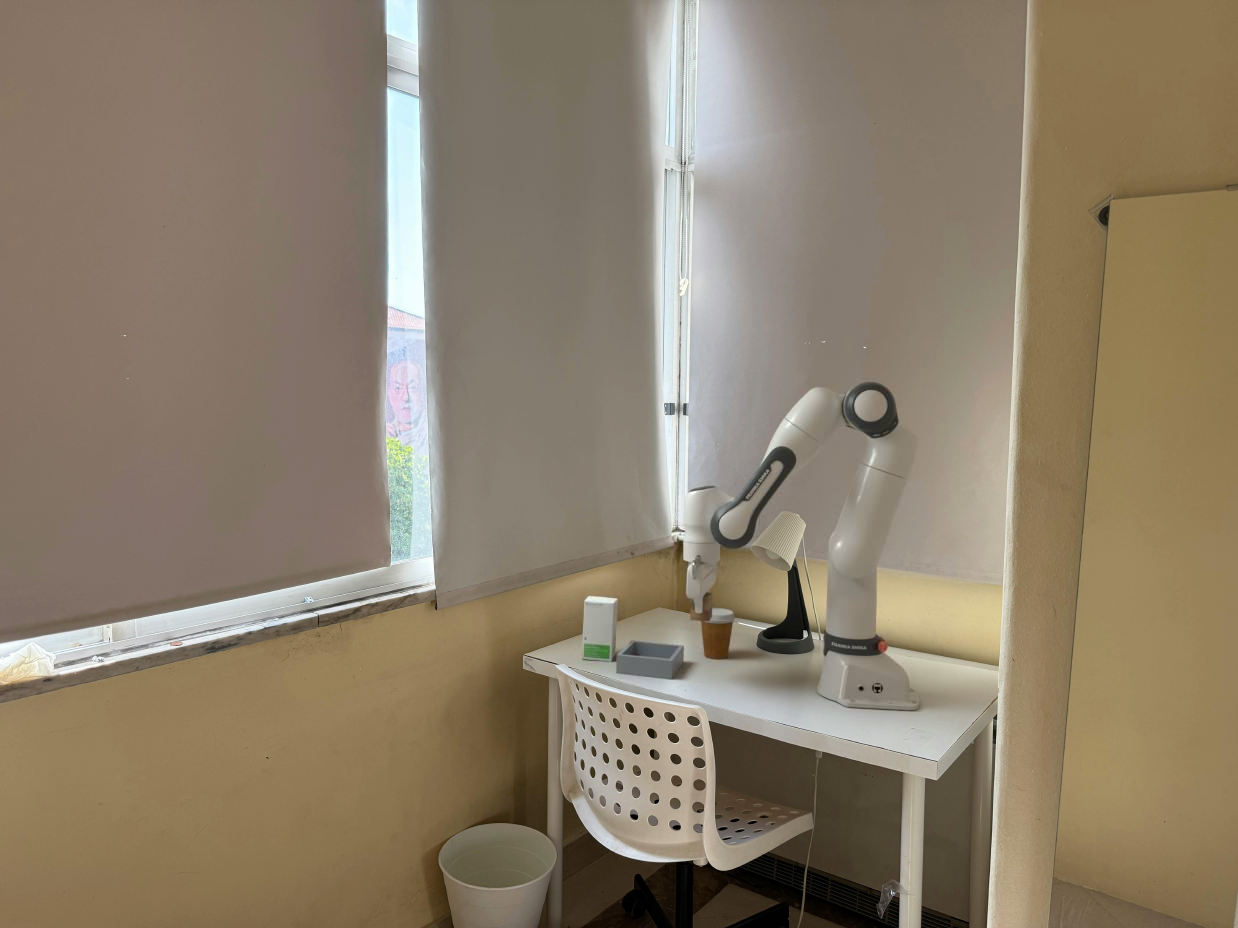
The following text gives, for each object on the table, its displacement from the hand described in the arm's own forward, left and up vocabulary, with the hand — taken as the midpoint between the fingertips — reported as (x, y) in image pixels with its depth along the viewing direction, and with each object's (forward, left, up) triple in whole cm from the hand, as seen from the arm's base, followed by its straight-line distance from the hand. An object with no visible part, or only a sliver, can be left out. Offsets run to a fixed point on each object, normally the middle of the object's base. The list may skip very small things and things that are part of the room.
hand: (701, 609), depth 184 cm
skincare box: (+28, -8, -17) cm, 34 cm away
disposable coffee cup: (-1, -20, -17) cm, 26 cm away
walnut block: (0, 0, -2) cm, 2 cm away
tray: (+13, -4, -17) cm, 22 cm away
